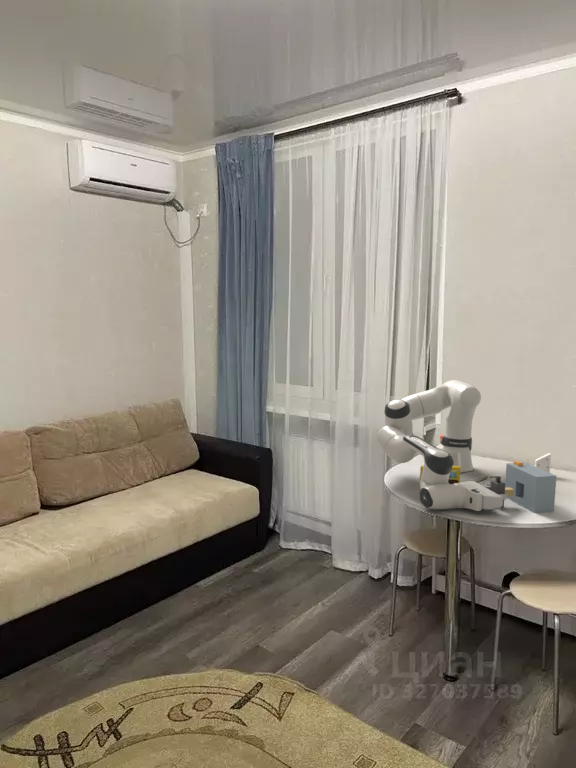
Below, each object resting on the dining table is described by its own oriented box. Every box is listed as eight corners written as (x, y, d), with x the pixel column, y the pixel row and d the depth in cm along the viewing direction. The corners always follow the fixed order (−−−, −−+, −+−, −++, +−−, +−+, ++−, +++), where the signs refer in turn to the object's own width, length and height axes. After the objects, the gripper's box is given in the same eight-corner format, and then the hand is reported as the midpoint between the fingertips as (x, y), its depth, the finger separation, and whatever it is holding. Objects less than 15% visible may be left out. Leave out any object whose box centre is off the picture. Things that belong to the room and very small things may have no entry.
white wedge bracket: (560, 471, 250) (550, 453, 250) (538, 482, 252) (529, 464, 251) (557, 469, 254) (548, 451, 253) (535, 479, 256) (526, 462, 255)
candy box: (420, 487, 235) (421, 467, 234) (419, 485, 237) (419, 465, 236) (460, 486, 236) (461, 466, 235) (458, 485, 238) (459, 465, 237)
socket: (534, 512, 207) (536, 473, 205) (504, 496, 224) (506, 460, 222) (553, 511, 209) (556, 472, 207) (523, 495, 226) (525, 459, 224)
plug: (495, 508, 211) (496, 478, 210) (489, 504, 215) (491, 475, 213) (513, 506, 213) (515, 477, 212) (507, 503, 217) (509, 474, 215)
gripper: (450, 494, 220) (483, 491, 224) (479, 513, 201) (515, 510, 204) (451, 478, 220) (484, 475, 223) (480, 495, 200) (516, 492, 203)
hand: (499, 492), depth 213 cm, fingers open, 7 cm apart
